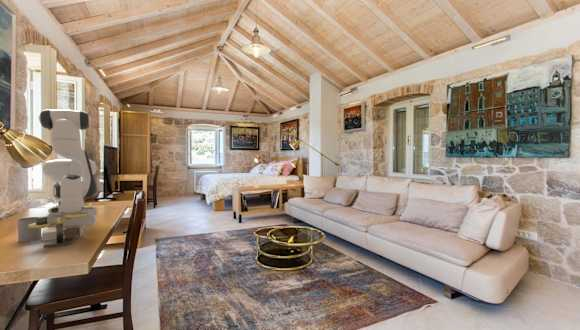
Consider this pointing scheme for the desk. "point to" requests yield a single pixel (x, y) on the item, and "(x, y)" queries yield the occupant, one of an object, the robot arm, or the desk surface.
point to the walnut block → (71, 232)
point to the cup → (28, 230)
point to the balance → (57, 229)
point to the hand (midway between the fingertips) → (72, 234)
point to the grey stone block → (48, 235)
